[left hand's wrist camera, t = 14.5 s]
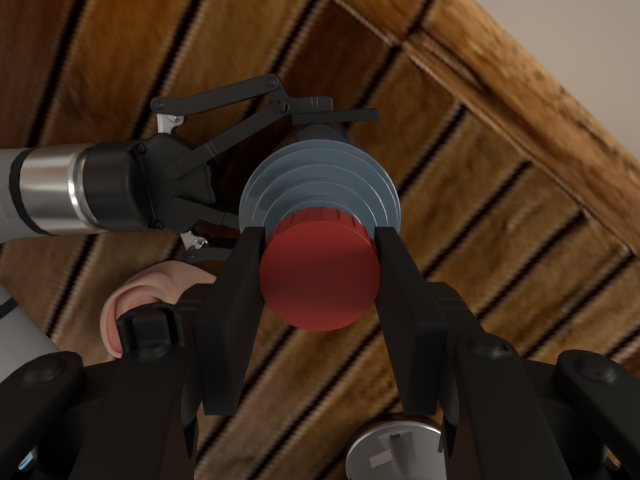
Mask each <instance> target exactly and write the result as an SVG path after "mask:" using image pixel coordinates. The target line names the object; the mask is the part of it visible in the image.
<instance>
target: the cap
mask: <svg viewBox="0 0 640 480" xmlns="http://www.w3.org/2000/svg"><path fill="white" fill-rule="evenodd" d="M377 253H378V251H377V248H376V246H375V243H374V240H373V238H372V239H371V237H370V235H369V234H368V232H367V229H366V227H365V226H363V225H362V224H361V223H360V222H359V221H358V220H356V219H355V216H351V215H349V214H347V213H346V212H343V211H341V209H334V208H329V207H325V206H322V207H310V208H309V207H306V208H305V209H301V210H299V211H296V212H291V214H290V215H289V216H287V217H286V218H284V219H283V220H282V221H279V222H278V225H277V226H276V227H275V228H274V230H273V231H272V233H271V232H270V233H269V236H268V238H267V241H266V244H265V248H264V251H263V254H262V257H261V260H260V264H259V272H260V287H261V294H262V296H263V298H264V300H265V302H266V304H267V305H268V306H269V308H270V309H271V310H272V311H273V312H274V313H275V314H276V315H277V316H278V317H279V318H281V319H282V320H284V321H285V322H287V323H289V324H291V325H293V326H295V327H298V328H301V329H305V330H312V331H328V330H334V329H338V328H341V327H344V326H347V325H349V324H351V323H353V322H354V321H356V320H358V319H359V318H360V317H361V316H363V315H364V314H365V313H366V312H367V311H368V310H369V308H370V307H371V306H372V304H373V303H374V301H375V299H376V298H377V295H378V293H379V280H380V262H379V259H378V256H377Z"/></svg>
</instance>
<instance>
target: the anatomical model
mask: <svg viewBox="0 0 640 480" xmlns="http://www.w3.org/2000/svg"><path fill="white" fill-rule="evenodd" d="M216 278H217V277H215V276H213V275H212V274H210V273H208V272H206V271H204V270H202V269H200V268H198V267H195V266H192V265H189V264H187V263H184V262H180V261H174V260H171V261H165V262H162V263H159V264H156V265H154V266H151V267H149V268H147V269H145V270H143V271H141V272H139V273H137V274H136V275H134V276H132V277H131V278H130V279H128V280H127V281H126V282H125V283H124V284H123V285H122V286H121V287H119V288H118V289H116V290H115V291H114V292H113V293H112V294H111V295H110V296H109V297H108V299H107V300H106V302H105V304H104V306H103V309H102V312H101V316H100V331H101V336H102V339H103V342H104V345H105V347H106V349H107V350H108V352H109V353H110V354H111V355H112V356H114V357H117V358H121V356H122V354H123V351H122V347H121V343H120V339H119V335H118V331H117V327H116V322H115V321H116V320H117V319H118V318H119V317H120V315H122V314H123V313H125V312H126V311H128V310H130V309H132V308H134V307H137V306H140V305H143V304H148V303H153V302H167V303H171V304H175V303H177V300H178V299H179V297H180V296H181V294H182V293H183V292H184V291H185V290H186V289H188V288H189V287H191V286H192V285H194V284H195V283H214V281H215V280H216Z"/></svg>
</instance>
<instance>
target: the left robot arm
mask: <svg viewBox="0 0 640 480" xmlns="http://www.w3.org/2000/svg"><path fill="white" fill-rule="evenodd" d="M374 243H375V246H376V248H377V251H378V253H377V256H378V259H379V262H380V280H379V293H378V295H377V298H376V299H375V305H376V309H377V313H378V316H379V320H380V324H381V328H382V331H383V335H384V339H385V343H386V346H387V350H388V354H389V358H390V361H391V365H392V369H393V373H394V376H395V380H396V384H397V388H398V392H399V395H400V399H401V403H402V407H403V410H404V414H393V415H388V416H383V417H380V418H377V419H375V420H373V421H370V422H369V423H367V424H365V425H364V426H362V427H361V428H360V429H358V430H357V431H356V432H355V433H354V434H353V436H352V437H351V439H350V440H349V442H348V444H347V447H346V451H345V463H346V473H347V477H348V479H349V480H640V381H639V380H638V379H637V378H635V377H634V376H633V375H632V374H631V373H630V372H629V371H627V370H626V369H625V368H623V367H622V366H621V365H619V364H618V363H616V362H615V361H613V360H611V359H609V358H606V357H604V356H603V355H601V354H598V353H593V352H590V351H585V350H575V349H573V350H567V351H563V352H562V353H561V354H560V355H559V356H558V359H557V362H556V365H552V364H547V363H542V362H537V361H532V360H528V359H524V358H520V357H519V355H518V353H517V351H516V350H515V349H514V347H513V346H512V345H511V344H510V343H508V342H507V341H505V340H504V339H503V338H500V337H498V336H496V335H493V334H490V333H486V332H485V331H484V329H483V328H482V326H481V325H480V323H479V322H478V321H477V319H476V318H475V316H474V315H473V313H472V312H471V311H470V309H468V306H467V305H466V304H465V302H464V301H463V299H462V298H461V296H460V295H459V294H458V292H457V291H456V290H455V289H454V288H452V287H451V286H449V285H448V284H446V283H445V282H425V281H424V279H423V277H422V275H421V274H420V272H419V270H418V268H417V266H416V265H415V263H414V261H413V259H412V258H411V256H410V254H409V252H408V251H407V249H406V247H405V245H404V244H403V242H402V240H401V238H400V237H399V235H398V233H397V231H396V230H395V228H394V227H374ZM265 244H266V234H265V227H245V229H244V231H243V232H242V234H241V236H240V238H239V239H238V241H237V243H236V245H235V246H234V248H233V250H232V252H231V253H230V255H229V257H228V259H227V260H226V262H225V264H224V266H223V267H222V269H221V271H220V273H219V274H218V276H217V278H216V280H215V281H214V283H195V284H194V285H192V286H191V287H189V288H188V289H186V290H185V291H184V292H183V293H182V294H181V296H180V297H179V299H178V300H177V303H175V304H171V303H167V302H153V303H148V304H143V305H140V306H137V307H134V308H132V309H130V310H128V311H126V312H125V313H123V314H122V315H120V317H119V318H118V319H117V320H116V321H115V322H116V327H117V331H118V335H119V339H120V343H121V347H122V351H123V354H122V356H121V358H120V359H118V360H114V361H110V362H105V363H100V364H96V365H91V366H86V367H84V364H83V361H82V358H81V356H80V355H78V354H77V353H75V352H69V351H61V352H53V353H48V354H45V355H42V356H39V357H37V358H35V359H33V360H31V361H29V362H27V363H25V364H23V365H22V366H21V367H19V368H18V369H16V370H15V371H14V372H12V373H11V374H10V375H9V376H8V377H7V378H6V379H4V380H3V381H2V382H1V383H0V480H194V470H195V461H196V452H197V442H198V433H199V427H198V421H197V415H196V414H197V411H198V408H199V406H200V403H201V401H203V407H204V414H205V415H235V412H236V409H237V405H238V401H239V397H240V394H241V390H242V386H243V382H244V379H245V375H246V371H247V367H248V364H249V360H250V356H251V352H252V349H253V345H254V341H255V337H256V334H257V330H258V326H259V322H260V318H261V315H262V311H263V307H264V303H265V300H264V298H263V296H262V294H261V287H260V272H259V264H260V260H261V257H262V254H263V251H264V248H265ZM437 398H438V400H439V403H440V405H441V408H442V410H443V413H444V415H443V421H442V426H441V425H440V424H439V423H437V422H435V421H434V420H432V419H429V418H427V417H424V416H420V415H435V411H436V405H437ZM609 450H610V451H611V452H612V453H613V454H614V456H615V457H616V458H617V459H618V460H619V461H620V463H621V464H622V466H621V468H620V469H619V468H618V467H617V466H616V465H615V464H614V463H613V462H612V461H611V460H610V459H609V457H608V456H607V455H608V453H609ZM30 452H31V454H32V457H33V458H32V459H31V460H30V461H29V463H28V464H27V465H26V466H25V467H23V468H22V469H21V470H20V469H19V467H18V466H19V465H20V464H21V462H22V461H23V460H24V459H25V458H26V456H27V455H28V454H29V453H30Z"/></svg>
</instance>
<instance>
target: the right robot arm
mask: <svg viewBox="0 0 640 480" xmlns="http://www.w3.org/2000/svg"><path fill="white" fill-rule="evenodd" d="M266 94H268V95H269V97H270V99H271V101H272V104H271V105H269V106H267V107H265V108H264V109H262V110H260V111H259V112H257V113H255V114H254V115H252V116H250V117H249V118H247V119H245V120H244V121H242V122H240V123H239V124H237V125H235V126H234V127H232V128H230V129H229V130H227V131H225V132H223V133H222V134H220V135H218V136H217V137H215V138H213V139H212V140H210V141H208V142H206V143H204V144H203V145H201V146H199V147H198V146H196V145H194V144H193V143H191V142H189V141H188V140H186V139H184V138H183V137H181V136H179V135H178V134H176V133H175V129H176V127H177V126H179V125H183V124H185V123H186V122H187V120H188V115H192V114H199V113H203V112H206V111H210V110H213V109H217V108H220V107H224V106H227V105H231V104H234V103H238V102H241V101H245V100H248V99H252V98H255V97H259V96H262V95H266ZM150 106H151V109H152V110H153V111H154V112H155V113H157V122H158V133H157V134H155V135H154V136H152V137H151V138H149V139H142V140H127V141H112V142H101V143H98V144H93V143H81V144H66V145H51V146H41V147H33V148H18V149H0V244H1V243H4V242H6V241H9V240H13V239H18V238H29V237H44V236H60V235H78V234H98V233H108V232H110V231H112V232H132V231H149V230H160V229H166V230H170V231H173V232H175V233H178V234H180V235H181V238H182V241H183V243H184V246H185V248H186V252H185V253H184V254H183V259H184V260H185V261H186V262H187V263H196V262H201V261H206V260H219V261H226V260H227V259H228V257H229V255H230V253H231V252H232V250H233V248H234V246H235V245H236V243H237V241H238V239H230V238H222V237H213V238H209V236H208V235H207V234H204V233H198V232H196V231H195V229H194V227H195V226H196V225H198V224H199V223H200V222H201V221H202V220H205V221H207V222H210V223H213V224H216V225H226V226H229V227H231V228H234V229H237V230H240V228H239V206H238V205H235V204H234V203H233V202H231V201H229V200H227V199H224V198H221V197H222V192H221V187H220V185H219V183H218V181H217V174H218V168H217V162H216V161H214V160H213V158H214V157H216V156H217V155H219V154H221V153H222V152H224V151H226V150H227V149H229V148H231V147H233V146H234V145H236V144H238V143H239V142H241V141H243V140H245V139H246V138H248V137H250V136H251V135H253V134H255V133H257V132H258V131H260V130H262V129H263V128H265V127H267V126H269V125H270V124H272V123H274V122H275V121H277V120H279V119H281V118H282V117H284V116H286V115H292V124H293V125H306V124H321V123H336V122H352V121H367V120H379V109H375V108H369V109H354V110H338V111H333V100H332V98H330V97H327V96H319V97H304V98H292V97H290V96H289V95H288V94H287V92H286V90H285V88H284V86H283V83H282V80H281V78H280V77H279V76H277V75H275V74H272V73H268V74H265V75H261V76H258V77H255V78H251V79H248V80H244V81H241V82H237V83H234V84H231V85H227V86H224V87H220V88H217V89H214V90H210V91H207V92H203V93H200V94H197V95H193V96H190V97H186V98H175V97H154V98H153V99H152V100H151V102H150ZM53 352H61V351H60V350H59V349H58V348H57V346H56V345H55V344H54V343H53V342H52V341H51V340H50V339H49V338H48V337H47V336H46V335H45V334H44V332H43V331H42V330H41V329H40V328H39V327H38V326H37V325H36V324H35V323H34V322H33V321H32V320H31V318H30V317H29V316H28V315H27V314H26V313H25V312H24V311H23V310H22V309H21V308H20V307H19V306H18V303H17V302H16V301H15V300H14V299H13V297H12V296H11V295H10V293H9V292H8V291H7V290H6V289H5V288H4V287H3V285H2V284H1V283H0V383H1V382H2V381H3V380H4V379H6V378H7V377H8V376H9V375H10V374H11V373H12V372H14V371H15V370H16V369H18V368H19V367H21V366H22V365H23V364H25V363H27V362H29V361H31V360H33V359H35V358H37V357H39V356H42V355H45V354H48V353H53ZM32 458H33V457H32V454H31V452H30V453H29V454H28V455H27V456H26V458H25V459H24V460H23V461H22V462H21V464H20V465H19V466H18V467H19V469H20V470H21V469H22V468H23V467H25V466H26V465H27V464H28V463H29V461H30V460H31V459H32Z"/></svg>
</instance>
